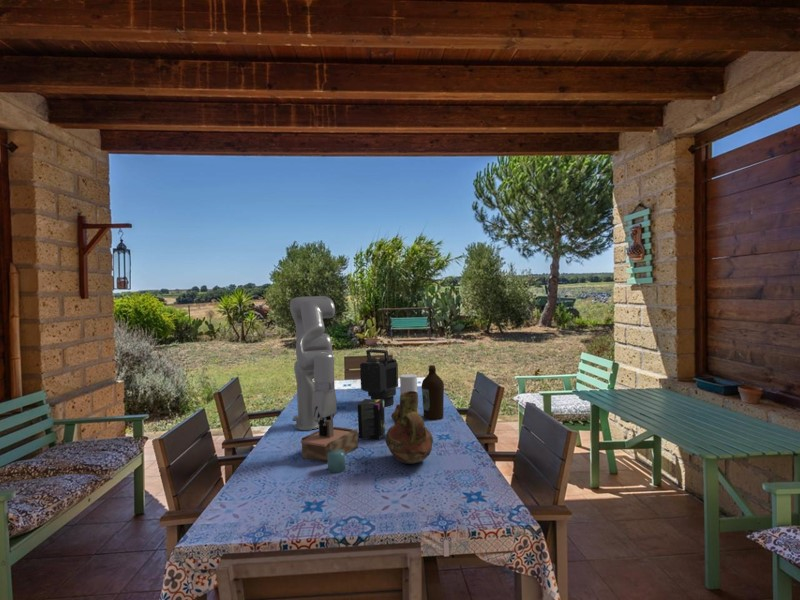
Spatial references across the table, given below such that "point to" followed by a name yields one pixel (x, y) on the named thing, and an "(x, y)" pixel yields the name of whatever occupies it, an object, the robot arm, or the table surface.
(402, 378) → the cylindrical container
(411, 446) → the ceramic vessel
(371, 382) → the lantern
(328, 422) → the brown piece
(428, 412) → the dark brown bottle
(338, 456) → the teal rounded piece
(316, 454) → the box
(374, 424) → the tampon box
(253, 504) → the table surface
